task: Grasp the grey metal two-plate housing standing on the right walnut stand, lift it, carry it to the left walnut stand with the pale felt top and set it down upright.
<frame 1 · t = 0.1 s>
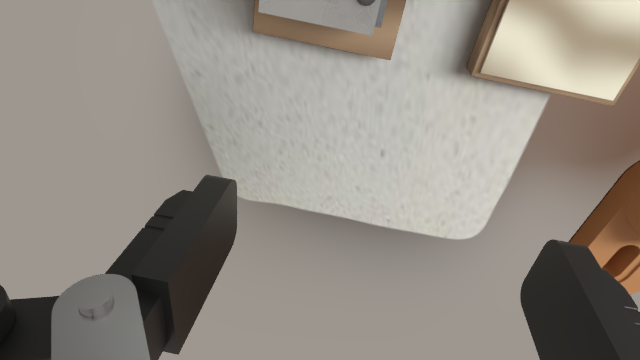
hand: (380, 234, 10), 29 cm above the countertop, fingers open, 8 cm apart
bracket: (628, 221, 42), on the countertop
stand b: (563, 16, 32), on the countertop
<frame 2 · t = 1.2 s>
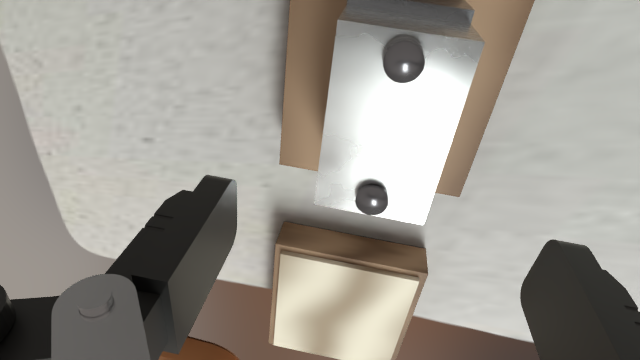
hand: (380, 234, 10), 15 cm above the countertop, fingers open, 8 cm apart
bracket: (167, 350, 44), on the countertop
housing: (388, 85, 21), point 3 cm above the countertop, touching stand a
stand a: (389, 68, 23), on the countertop
stand b: (342, 287, 33), on the countertop
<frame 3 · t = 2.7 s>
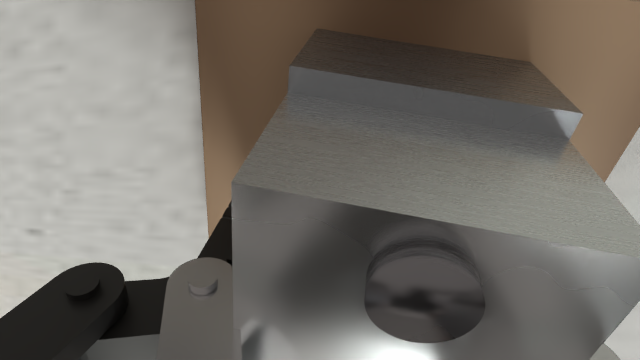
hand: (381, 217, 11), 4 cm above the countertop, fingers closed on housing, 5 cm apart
housing: (382, 198, 12), point 3 cm above the countertop, touching gripper, stand a
stand a: (384, 150, 14), on the countertop
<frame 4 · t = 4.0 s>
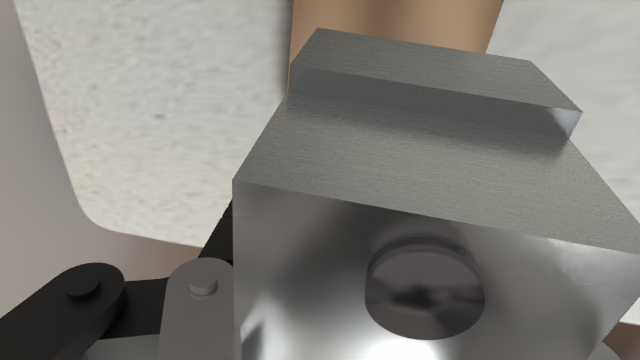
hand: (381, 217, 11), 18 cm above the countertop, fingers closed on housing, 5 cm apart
housing: (383, 197, 12), point 17 cm above the countertop, touching gripper
stand a: (383, 45, 25), on the countertop
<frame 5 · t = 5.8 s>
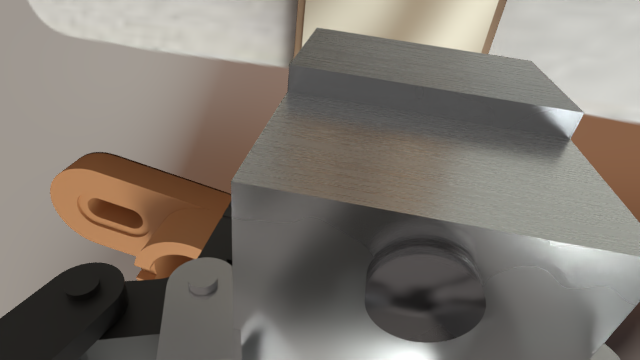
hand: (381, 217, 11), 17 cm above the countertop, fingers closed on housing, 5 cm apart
bracket: (168, 207, 36), on the countertop
housing: (383, 198, 12), point 16 cm above the countertop, touching gripper
stand b: (385, 52, 25), on the countertop
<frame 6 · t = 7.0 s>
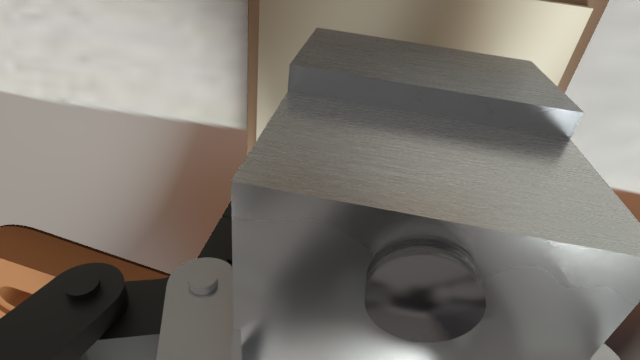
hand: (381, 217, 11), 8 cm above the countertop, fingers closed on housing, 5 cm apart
bracket: (110, 290, 28), on the countertop
housing: (383, 198, 12), point 7 cm above the countertop, touching gripper
stand b: (386, 112, 17), on the countertop
when the fingers open (5 cm above the countertop, at t = 8.0 s): housing stays where it is, resting on stand b.
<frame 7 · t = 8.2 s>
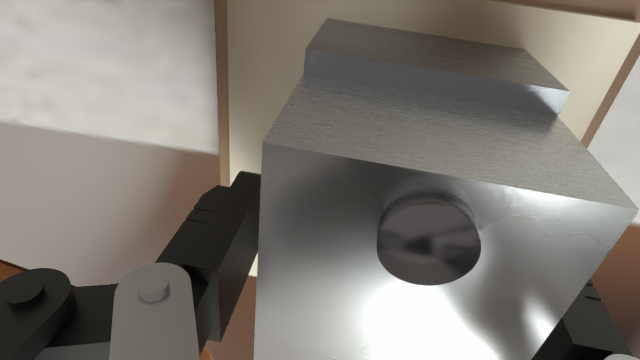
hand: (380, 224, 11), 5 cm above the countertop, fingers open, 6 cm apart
bracket: (85, 325, 26), on the countertop
housing: (386, 180, 12), point 3 cm above the countertop, touching stand b
stand b: (383, 138, 15), on the countertop
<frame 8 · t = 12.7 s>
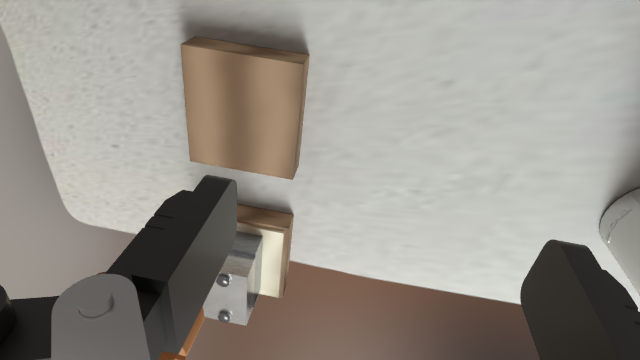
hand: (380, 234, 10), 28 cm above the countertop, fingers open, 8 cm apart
bracket: (149, 298, 61), on the countertop
housing: (241, 259, 48), point 3 cm above the countertop, touching stand b
stand a: (250, 105, 40), on the countertop
stand b: (248, 243, 50), on the countertop
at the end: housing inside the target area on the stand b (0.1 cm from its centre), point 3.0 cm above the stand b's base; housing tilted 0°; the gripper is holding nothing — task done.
